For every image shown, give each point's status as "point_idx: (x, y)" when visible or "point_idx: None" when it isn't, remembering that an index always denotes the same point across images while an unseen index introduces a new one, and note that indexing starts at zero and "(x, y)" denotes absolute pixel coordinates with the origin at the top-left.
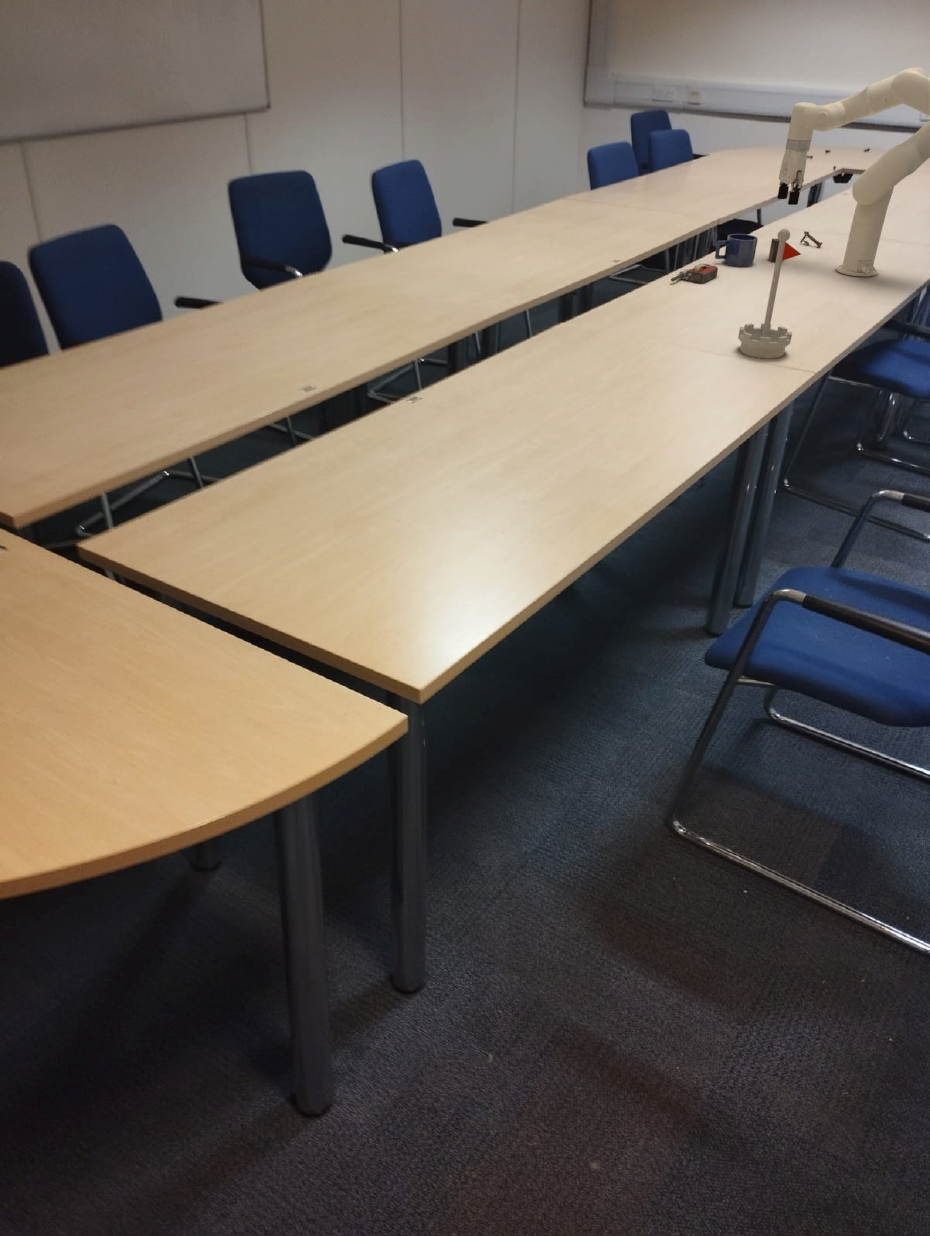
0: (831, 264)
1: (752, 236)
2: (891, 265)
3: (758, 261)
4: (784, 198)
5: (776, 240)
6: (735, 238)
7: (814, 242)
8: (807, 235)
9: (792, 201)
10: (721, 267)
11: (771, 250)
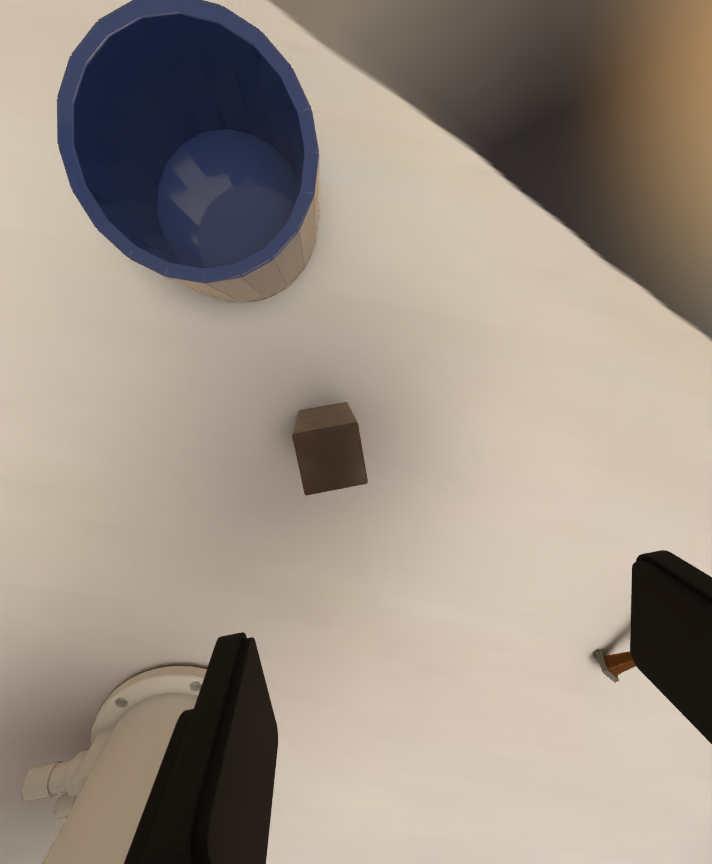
0: (304, 660)
1: (255, 252)
2: (327, 847)
3: (305, 345)
4: (631, 636)
5: (302, 441)
6: (296, 129)
7: (626, 652)
8: None
9: (184, 716)
10: None
11: (328, 414)
